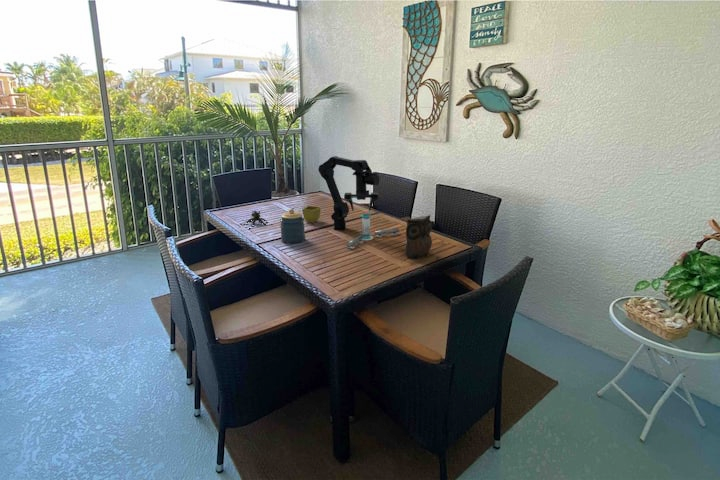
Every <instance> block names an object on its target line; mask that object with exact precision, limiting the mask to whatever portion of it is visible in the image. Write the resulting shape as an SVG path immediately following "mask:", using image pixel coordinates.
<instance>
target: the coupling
mask: <svg viewBox="0 0 720 480" xmlns="http://www.w3.org/2000/svg"><path fill="white" fill-rule="evenodd" d="M360 217H361V235H362V236H363V239H370V238H371V236H372V235H371V217H372V214H371V213H361V215H360Z"/></svg>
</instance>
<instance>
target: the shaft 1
mask: <svg viewBox="0 0 720 480" xmlns="http://www.w3.org/2000/svg"><path fill="white" fill-rule="evenodd" d="M362 239H363V236H362V234H361V235H359V236H357V237H355V238H354V239H353V240H351V241H349V242H347V243H346V249H355V248H356V246H355V244H363V243H364V240H362Z"/></svg>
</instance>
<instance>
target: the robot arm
mask: <svg viewBox="0 0 720 480" xmlns="http://www.w3.org/2000/svg"><path fill="white" fill-rule="evenodd" d="M337 166H341V167H347V168H350V169H351V170H353V171H354V172H353V173H352V176H355V193H354V194H353V193H352V192H345V193H344V194H343V195H344V196H343V199H342V197H341V194H340V192H339V188H338V186H337V183H336V180H335V178H334V175H335V174H334V173H335V170H334V169H335V168H336V167H337ZM317 168H318V172H319V174H320V176H321V178H322V179H323V180H325V182H326V185H327V189H328V190H329V194H330V197H331V198H332V201H333V213H332V214H331V215H330V218H331V220H333V230H334V231H335V230H336V231H339V230H340V231H344V230H345V229H346V227H347V223H346V221H347V219H345V218H347V217H348V215H349V213H350V210H349V209H350V207H351V210H352V212H354V201H353V199H354V198H355V199H357V200H358V201H360V200H361V201H364V200H366V198H369V206H368V211H369V212H370V211H371V209H372V206H373V203H374V202H376V201H377V200H379V193H378V192H370V190H367V185H370V186H376V187H377V186H378V185H379V184H380V179H381V178H380V176H379V175H378V172H373V171H372V169H371V168H370V166H369V164H368V161H367V160H366V159H357V160H356V159H354V160H353V159H348V158H345V157H340V156H331V157H329V158H328V159H327V160H326V161H325V162H323V163H322V164H320V165H319V166H318V167H317ZM344 200H346V202H344ZM348 203H349V204H350V207H349V205H348Z"/></svg>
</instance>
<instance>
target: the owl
mask: <svg viewBox="0 0 720 480" xmlns="http://www.w3.org/2000/svg"><path fill="white" fill-rule="evenodd" d="M432 226H433V225H432V221H431V215H424V216H416V217H411V218H408V219H407V220H406V228H405V236H406V237H405V238H406V239H405V240H406V243H405V255H406V258H407V259H410V260H411V259H412V260H417V259H423V258H427V257H428V255H429V254H430V251H431V248H432V244H433V241H432V237H431V235H430V234H431V232H432V229H433V227H432Z"/></svg>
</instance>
